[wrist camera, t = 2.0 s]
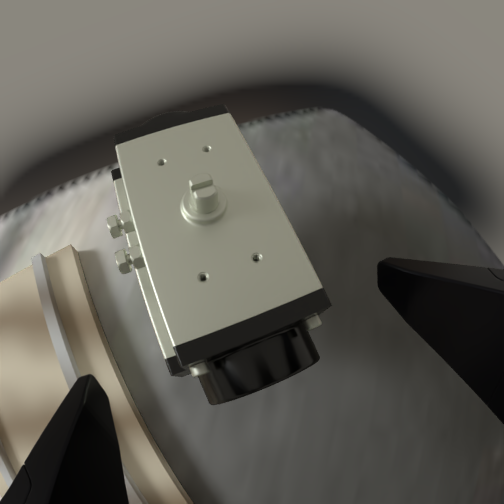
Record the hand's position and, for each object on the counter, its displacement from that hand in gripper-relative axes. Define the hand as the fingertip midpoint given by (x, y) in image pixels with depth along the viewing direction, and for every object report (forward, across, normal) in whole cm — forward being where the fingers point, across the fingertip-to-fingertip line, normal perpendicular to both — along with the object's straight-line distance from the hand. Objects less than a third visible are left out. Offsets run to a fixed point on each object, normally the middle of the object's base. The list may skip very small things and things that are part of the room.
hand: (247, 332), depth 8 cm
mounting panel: (+7, +14, +9) cm, 18 cm away
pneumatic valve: (+11, 0, +5) cm, 12 cm away
